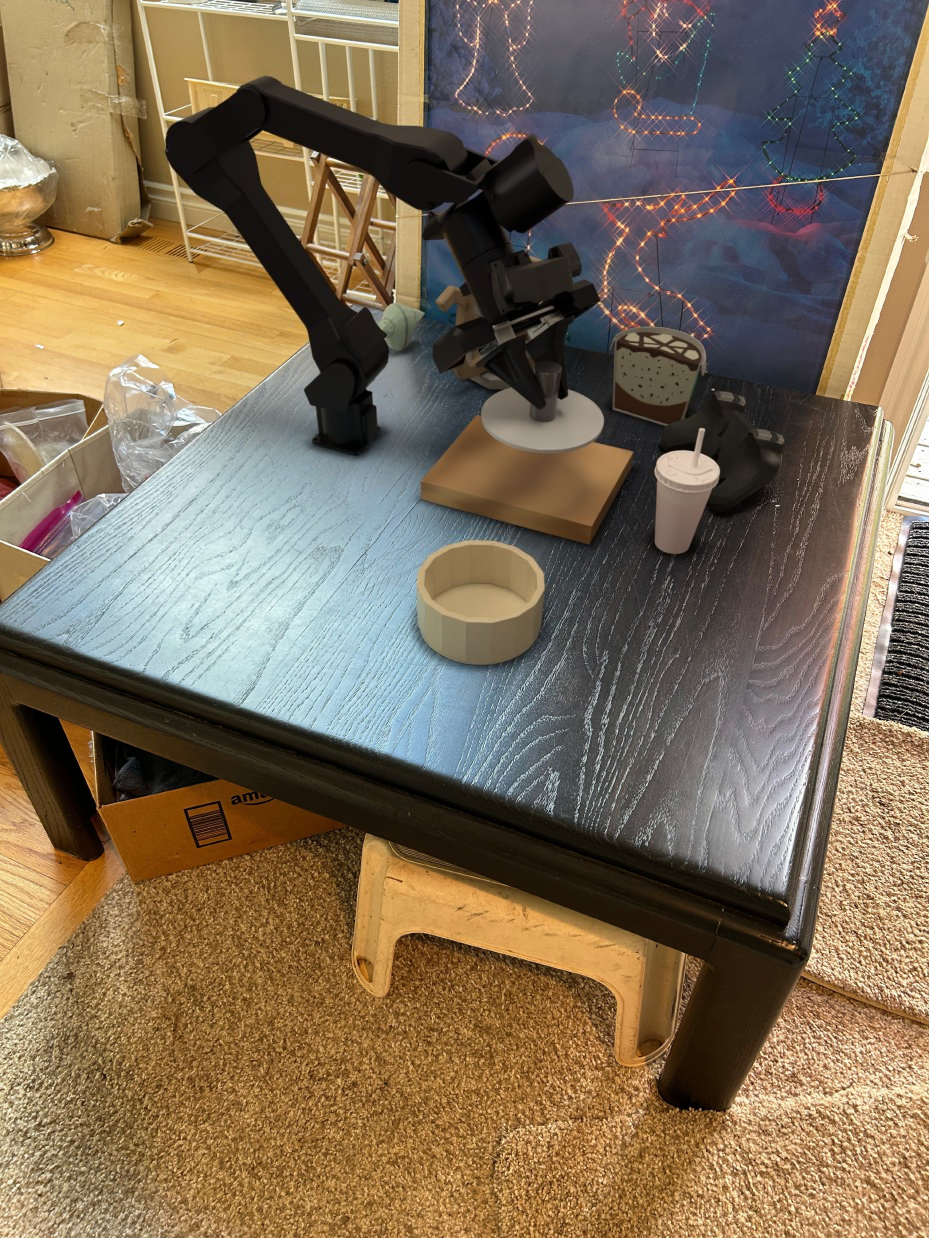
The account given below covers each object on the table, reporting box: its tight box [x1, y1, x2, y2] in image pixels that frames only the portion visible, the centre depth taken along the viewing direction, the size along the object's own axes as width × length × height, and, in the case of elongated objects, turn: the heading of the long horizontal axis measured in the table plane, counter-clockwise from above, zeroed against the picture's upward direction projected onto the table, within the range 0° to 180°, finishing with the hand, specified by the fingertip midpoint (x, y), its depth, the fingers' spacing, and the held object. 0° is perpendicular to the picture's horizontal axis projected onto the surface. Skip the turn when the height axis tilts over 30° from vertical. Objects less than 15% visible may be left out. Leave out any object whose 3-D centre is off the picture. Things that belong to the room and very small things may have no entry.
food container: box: [609, 326, 707, 427], centre depth 114 cm, size 12×6×10 cm, turn 58°
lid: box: [480, 361, 605, 454], centre depth 92 cm, size 13×13×7 cm
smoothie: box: [654, 428, 720, 555], centre depth 92 cm, size 6×6×14 cm
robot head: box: [376, 302, 426, 352], centre depth 127 cm, size 8×4×7 cm, turn 134°
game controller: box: [659, 390, 785, 513], centre depth 105 cm, size 16×7×10 cm, turn 15°
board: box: [420, 414, 634, 546], centre depth 104 cm, size 20×16×2 cm
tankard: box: [435, 254, 543, 391], centre depth 119 cm, size 20×13×15 cm, turn 133°
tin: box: [416, 539, 546, 666], centre depth 85 cm, size 12×12×5 cm
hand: (553, 403), depth 92 cm, fingers closed on lid, 3 cm apart
